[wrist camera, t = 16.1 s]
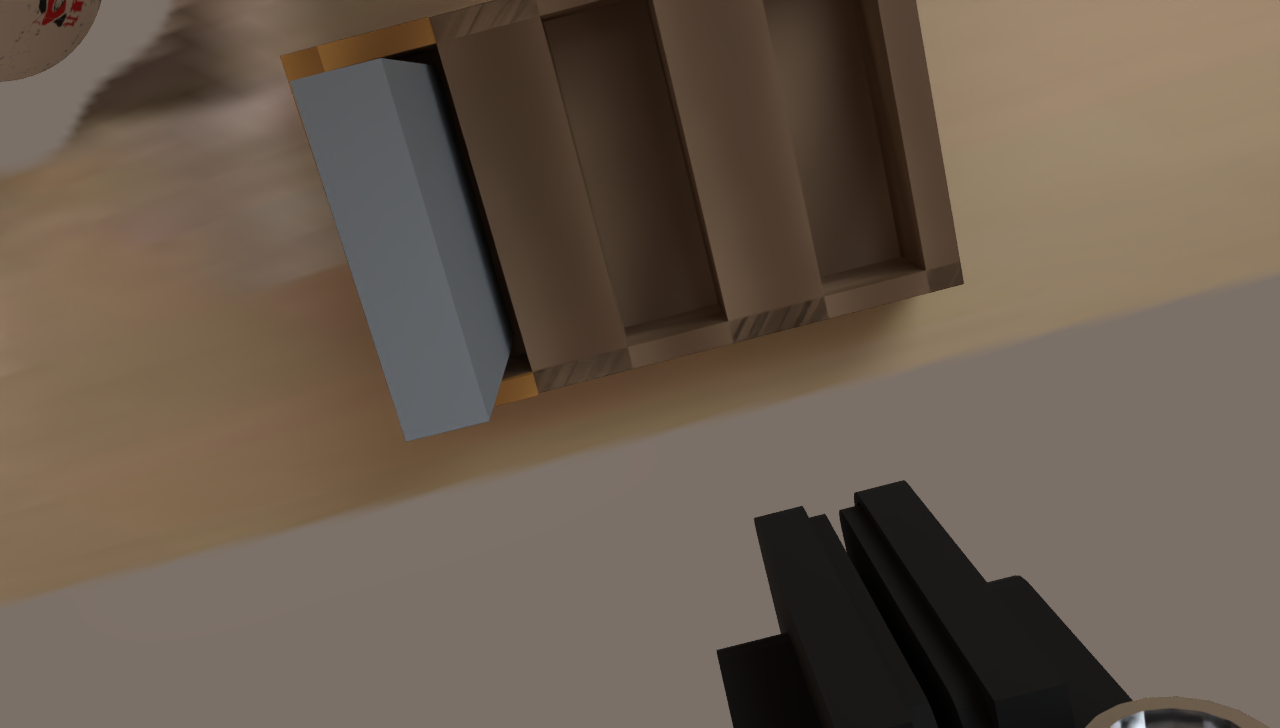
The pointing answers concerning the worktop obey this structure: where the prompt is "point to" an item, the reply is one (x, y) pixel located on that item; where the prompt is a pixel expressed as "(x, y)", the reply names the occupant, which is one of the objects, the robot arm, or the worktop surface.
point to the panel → (411, 238)
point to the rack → (684, 168)
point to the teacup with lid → (41, 33)
